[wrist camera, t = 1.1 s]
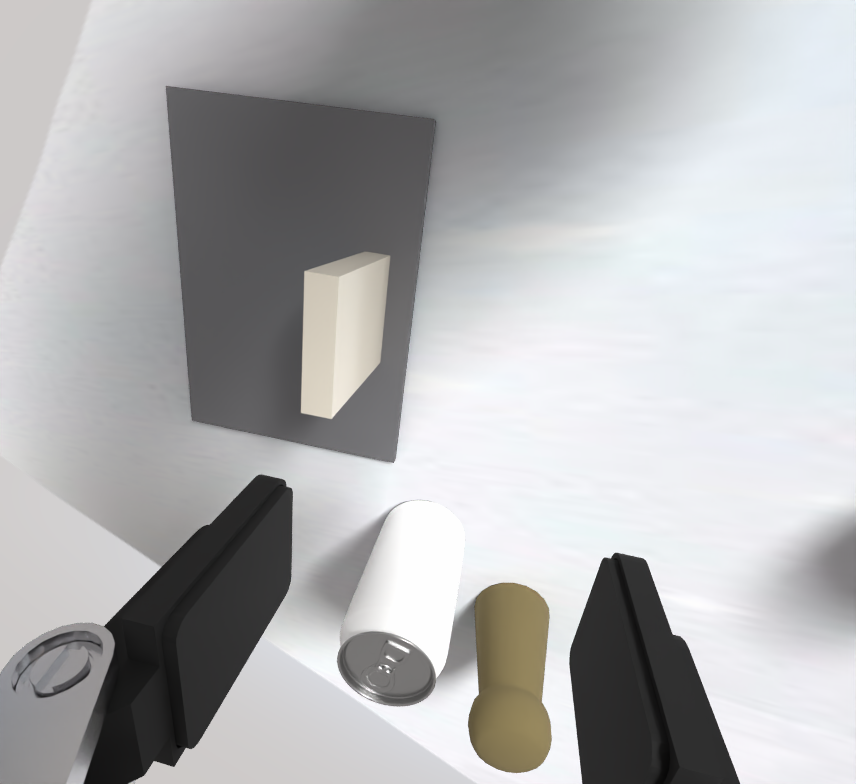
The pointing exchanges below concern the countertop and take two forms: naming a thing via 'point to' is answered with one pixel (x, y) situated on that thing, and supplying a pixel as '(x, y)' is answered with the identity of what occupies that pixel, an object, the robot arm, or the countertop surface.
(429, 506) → the can
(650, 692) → the robot arm
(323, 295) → the tile
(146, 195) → the countertop surface
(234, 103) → the mat
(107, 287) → the countertop surface
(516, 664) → the cork
